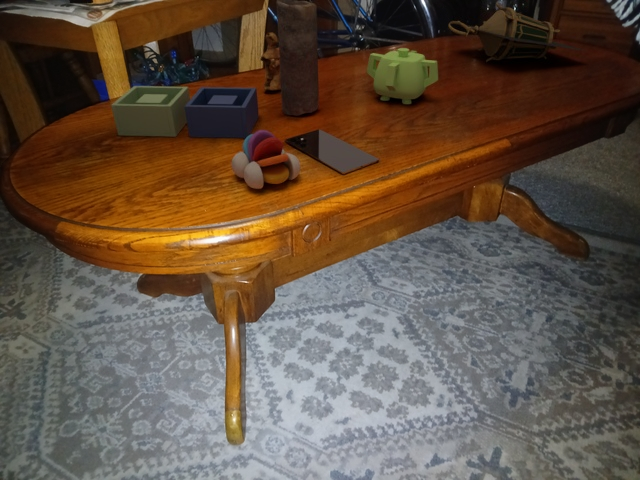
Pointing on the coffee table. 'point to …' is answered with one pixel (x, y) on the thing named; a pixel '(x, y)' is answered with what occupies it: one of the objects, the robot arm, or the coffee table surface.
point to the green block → (154, 99)
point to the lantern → (513, 35)
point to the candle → (298, 56)
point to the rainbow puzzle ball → (264, 161)
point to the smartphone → (331, 151)
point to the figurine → (271, 64)
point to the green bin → (151, 112)
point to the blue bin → (222, 113)
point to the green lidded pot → (401, 74)
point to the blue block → (224, 100)
